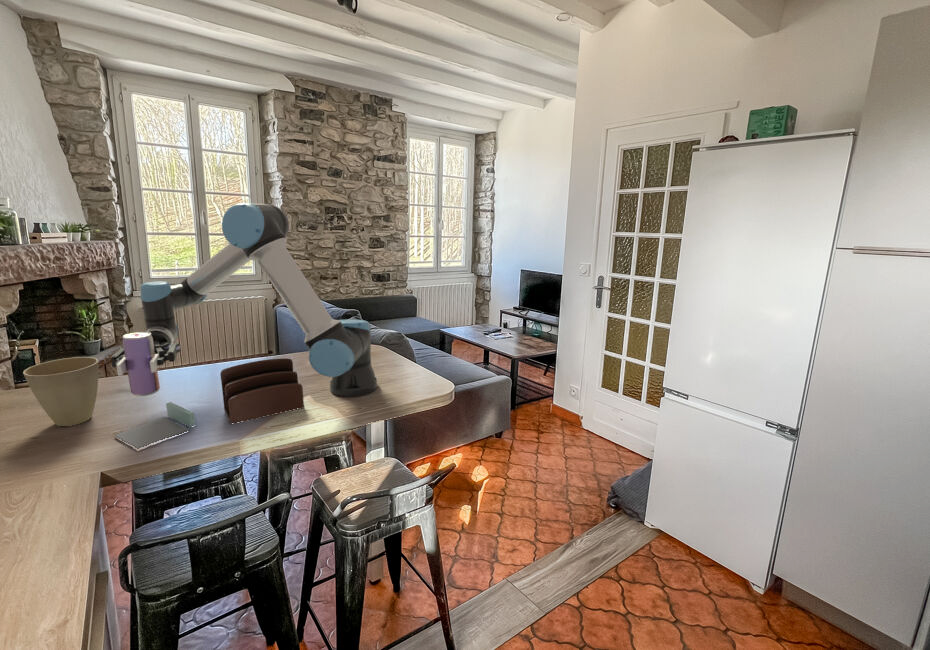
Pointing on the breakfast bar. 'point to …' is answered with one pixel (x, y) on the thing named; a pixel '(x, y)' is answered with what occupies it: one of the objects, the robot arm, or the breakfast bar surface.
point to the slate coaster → (151, 433)
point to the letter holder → (260, 389)
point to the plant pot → (65, 388)
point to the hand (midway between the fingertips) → (136, 368)
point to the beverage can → (140, 363)
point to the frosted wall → (180, 414)
